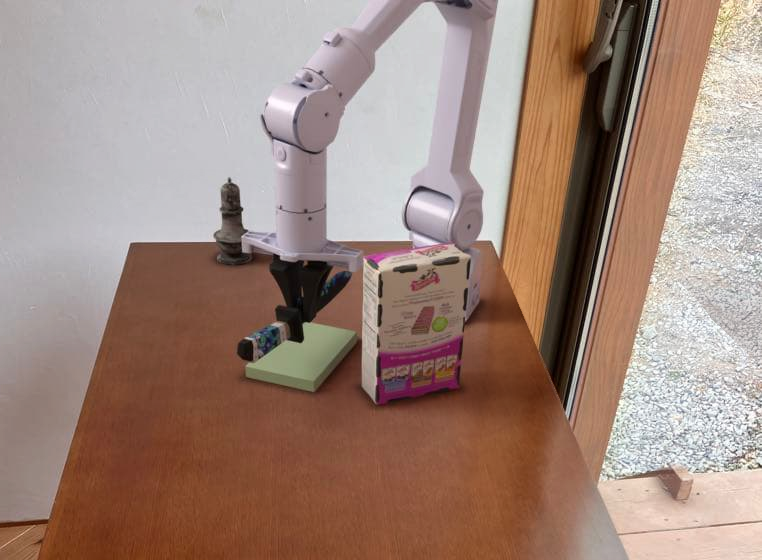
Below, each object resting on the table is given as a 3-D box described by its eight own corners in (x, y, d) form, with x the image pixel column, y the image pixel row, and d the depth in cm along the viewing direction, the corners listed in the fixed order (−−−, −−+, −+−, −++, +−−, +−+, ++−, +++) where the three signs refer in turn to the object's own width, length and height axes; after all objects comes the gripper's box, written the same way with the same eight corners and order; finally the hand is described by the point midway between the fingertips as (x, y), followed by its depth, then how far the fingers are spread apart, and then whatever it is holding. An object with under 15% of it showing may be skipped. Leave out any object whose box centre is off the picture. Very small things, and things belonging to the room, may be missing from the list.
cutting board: (356, 342, 115) (357, 331, 114) (314, 392, 105) (314, 381, 104) (293, 329, 117) (293, 318, 116) (245, 377, 107) (245, 366, 106)
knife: (247, 381, 96) (247, 343, 94) (223, 374, 97) (223, 336, 95) (367, 298, 119) (370, 265, 117) (347, 293, 120) (350, 260, 117)
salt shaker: (210, 263, 133) (203, 181, 126) (221, 249, 138) (215, 169, 130) (248, 267, 133) (243, 185, 125) (258, 252, 137) (254, 172, 130)
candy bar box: (440, 370, 110) (452, 239, 99) (459, 389, 106) (474, 256, 96) (357, 386, 106) (361, 253, 96) (375, 407, 103) (380, 270, 92)
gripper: (226, 206, 98) (234, 320, 107) (348, 226, 94) (345, 343, 103) (254, 187, 103) (260, 297, 112) (371, 205, 99) (367, 318, 108)
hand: (302, 317), depth 108 cm, fingers closed on knife
